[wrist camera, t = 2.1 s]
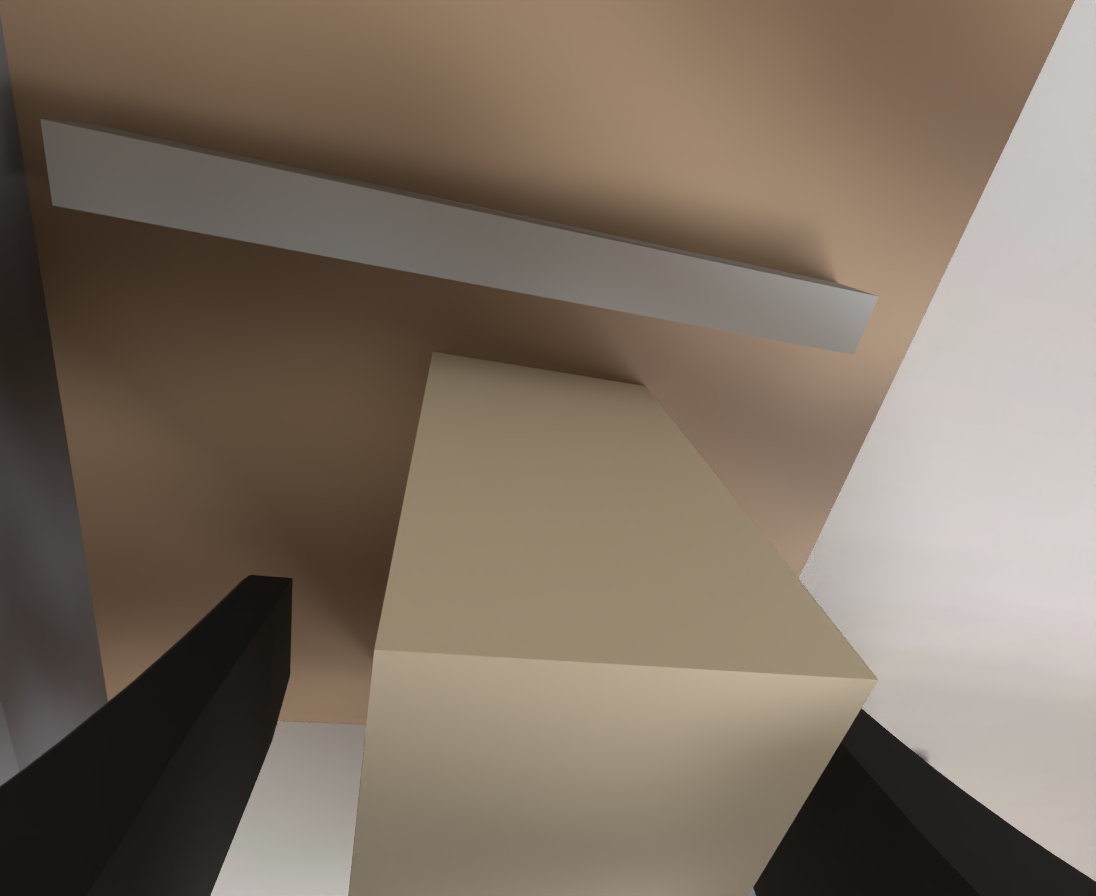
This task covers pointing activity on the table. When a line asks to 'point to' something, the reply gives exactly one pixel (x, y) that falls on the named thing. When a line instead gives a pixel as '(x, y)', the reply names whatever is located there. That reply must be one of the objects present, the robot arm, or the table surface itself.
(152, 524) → the shelf
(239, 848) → the table surface
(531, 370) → the carton
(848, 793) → the robot arm
